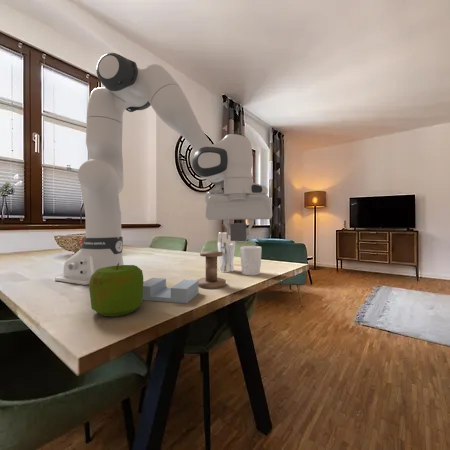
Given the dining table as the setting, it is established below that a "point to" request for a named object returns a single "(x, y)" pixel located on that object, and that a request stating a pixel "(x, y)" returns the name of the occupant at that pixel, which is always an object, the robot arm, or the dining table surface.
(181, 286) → the notch board
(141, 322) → the dining table surface
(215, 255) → the bobbin
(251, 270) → the white cup
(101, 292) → the apple
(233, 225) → the tab
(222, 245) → the beer glass
